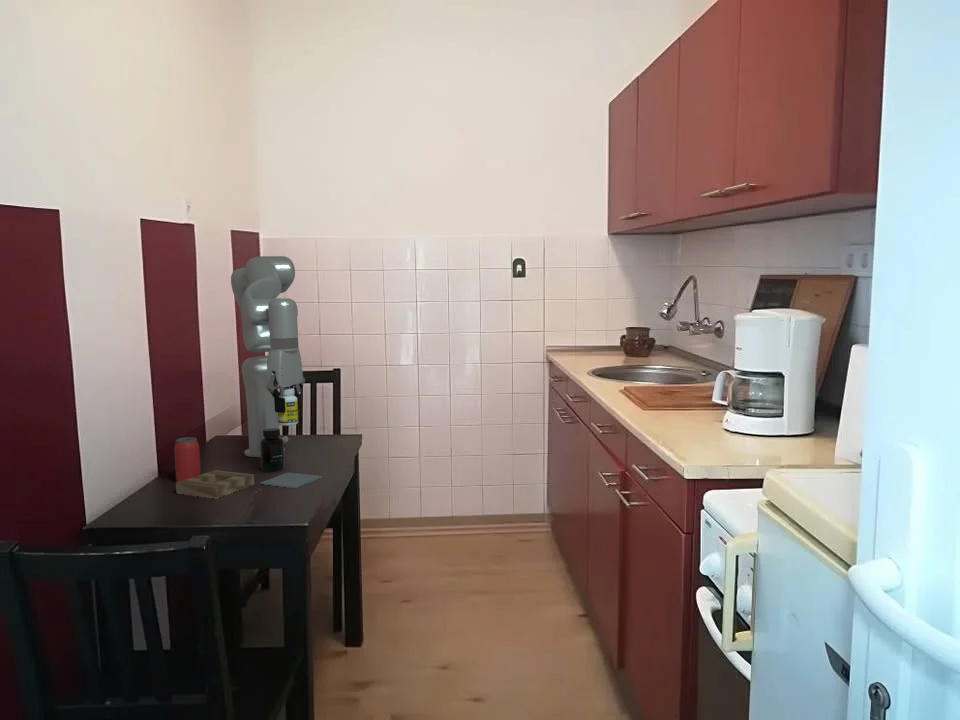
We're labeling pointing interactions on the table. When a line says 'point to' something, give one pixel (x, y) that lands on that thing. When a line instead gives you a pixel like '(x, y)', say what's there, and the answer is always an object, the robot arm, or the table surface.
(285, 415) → the supplement bottle
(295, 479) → the mat
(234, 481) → the holder
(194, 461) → the beer can
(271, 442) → the supplement bottle
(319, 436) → the table surface
